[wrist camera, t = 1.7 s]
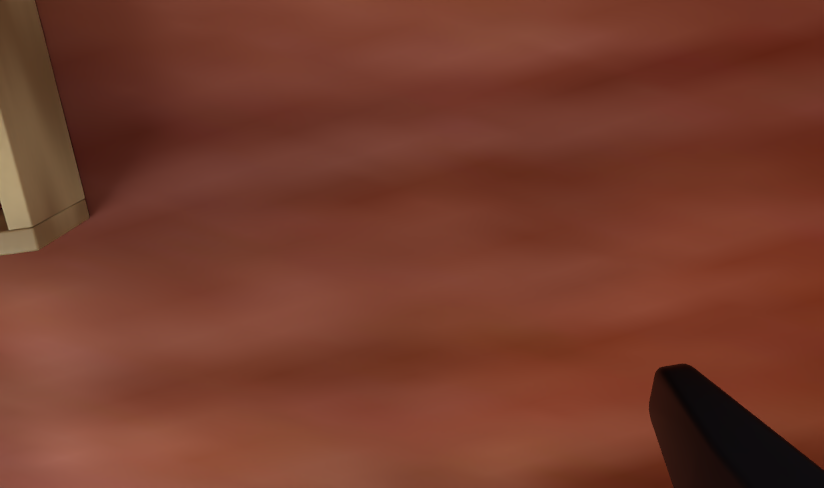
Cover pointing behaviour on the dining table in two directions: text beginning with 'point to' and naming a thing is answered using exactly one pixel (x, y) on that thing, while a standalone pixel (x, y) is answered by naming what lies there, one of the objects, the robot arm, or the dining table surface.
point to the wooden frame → (33, 139)
